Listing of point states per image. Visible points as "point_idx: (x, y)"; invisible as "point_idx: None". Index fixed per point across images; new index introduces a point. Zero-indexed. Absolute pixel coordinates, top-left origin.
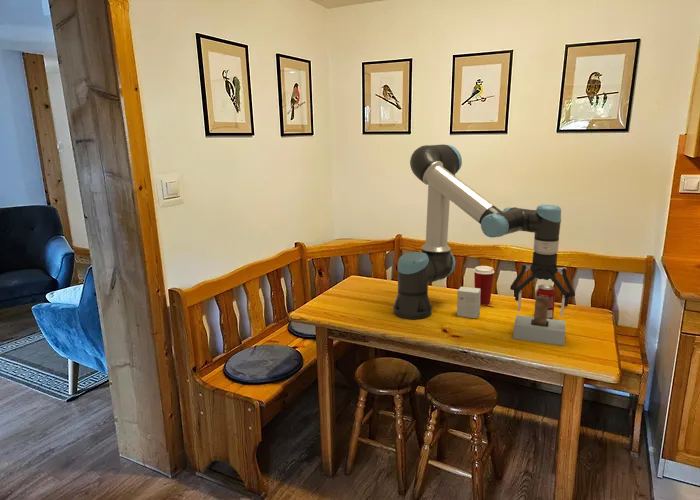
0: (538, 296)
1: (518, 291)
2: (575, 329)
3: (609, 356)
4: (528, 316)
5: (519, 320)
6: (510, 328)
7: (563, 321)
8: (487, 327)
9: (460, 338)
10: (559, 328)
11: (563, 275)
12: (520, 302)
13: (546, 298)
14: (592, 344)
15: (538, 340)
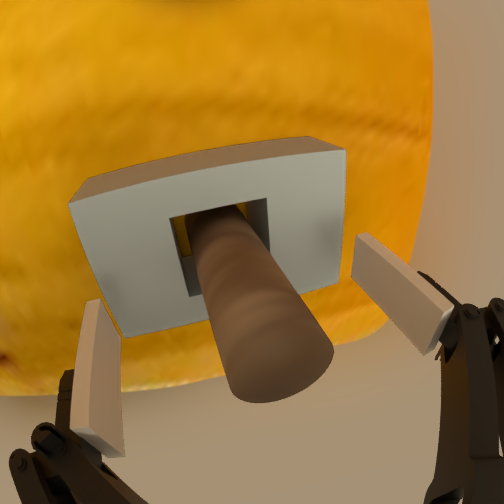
0: (249, 359)
1: (103, 466)
2: (347, 60)
3: (407, 249)
4: (138, 184)
5: (118, 277)
6: (71, 198)
7: (338, 163)
8: (2, 247)
9: (17, 365)
10: (318, 265)
11: None
12: (120, 388)
13: (319, 357)
14: (388, 189)
15: None
